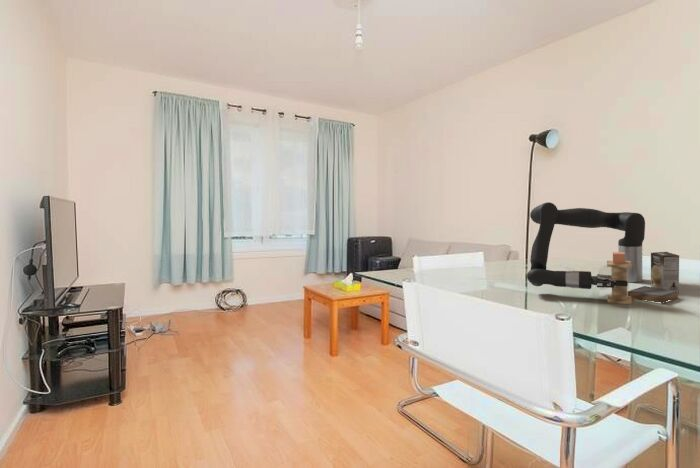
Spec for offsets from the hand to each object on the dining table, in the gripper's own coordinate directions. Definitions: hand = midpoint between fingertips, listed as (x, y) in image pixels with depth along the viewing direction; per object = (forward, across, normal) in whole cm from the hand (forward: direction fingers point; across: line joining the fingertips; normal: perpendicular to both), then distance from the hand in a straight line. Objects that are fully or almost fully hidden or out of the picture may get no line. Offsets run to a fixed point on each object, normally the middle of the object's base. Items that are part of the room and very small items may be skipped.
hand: (627, 282), depth 149 cm
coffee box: (+14, +23, +8) cm, 28 cm away
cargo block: (-3, 0, -8) cm, 8 cm away
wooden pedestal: (-3, 0, +8) cm, 8 cm away
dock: (+9, +7, +8) cm, 14 cm away
